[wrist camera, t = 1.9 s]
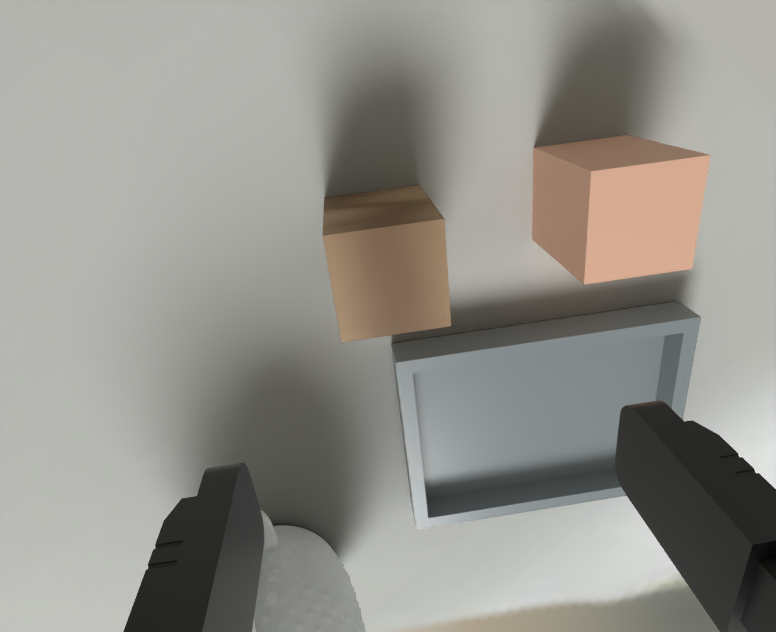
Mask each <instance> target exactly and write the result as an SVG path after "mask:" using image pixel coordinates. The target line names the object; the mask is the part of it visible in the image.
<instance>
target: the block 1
mask: <svg viewBox="0 0 776 632" xmlns="http://www.w3.org/2000/svg"><path fill="white" fill-rule="evenodd" d="M323 240H324V246H325V251H326V257H327V263H328V268H329V274H330V280H331V285H332V291H333V297H334V302H335V308H336V314H337V319H338V325H339V331H340V336H341V342H348V341H355V340H361V339H368V338H375V337H382V336H388V335H395V334H402V333H409V332H415V331H422V330H429V329H436V328H442V327H449V326H451V315H450V300H449V285H448V270H447V255H446V240H445V224H444V218H443V217H442V215H441V214H440V212H439V211H438V210H437V208H436V207H435V206H434V204H433V203H432V202H431V200H430V199H429V198H428V196H427V195H426V193H425V192H424V191H423V189H422V188H421V187H420V185H415V186H408V187H400V188H393V189H386V190H378V191H371V192H364V193H356V194H349V195H342V196H334V197H327V198H324V219H323Z"/></svg>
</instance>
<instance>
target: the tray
mask: <svg viewBox="0 0 776 632" xmlns="http://www.w3.org/2000/svg"><path fill="white" fill-rule="evenodd" d="M700 320H701V317H700V316H699V315H697V314H696V313H694V312H693V311H691V310H690V309H689V308H687V307H686V306H684V305H683V304H681V303H680V302H678V301H675V302H669V303H662V304H655V305H648V306H642V307H635V308H628V309H621V310H615V311H608V312H601V313H594V314H588V315H581V316H574V317H567V318H561V319H554V320H547V321H540V322H534V323H527V324H520V325H513V326H507V327H500V328H493V329H486V330H480V331H473V332H466V333H459V334H453V335H446V336H439V337H432V338H426V339H419V340H412V341H405V342H399V343H392V344H391V345H392V353H393V360H394V368H395V376H396V384H397V392H398V400H399V408H400V416H401V424H402V431H403V439H404V447H405V455H406V463H407V471H408V479H409V487H410V495H411V503H412V509H413V514H414V520H415V525H416V530H418V529H424V528H430V527H436V526H442V525H449V524H455V523H461V522H467V521H473V520H479V519H486V518H492V517H498V516H504V515H510V514H516V513H522V512H529V511H535V510H541V509H547V508H553V507H559V506H565V505H572V504H578V503H584V502H590V501H596V500H602V499H609V498H615V497H621V496H627V495H626V494H625V492H624V491H623V489H622V487H621V485H620V483H619V480H618V477H617V474H616V469H615V455H616V446H617V437H618V428H619V419H620V412H621V409H622V408H623V407H624V406H626V405H632V404H638V403H645V402H651V401H658V400H660V401H663V402H665V403H666V404H667V405H668V406H669V407H670V408H671V409H672V410H673V411H674V412H675V413H676V414H677V415H678V416H679V417H680V418H681V419H682V420H683V415H684V410H685V404H686V399H687V393H688V387H689V382H690V376H691V370H692V365H693V359H694V353H695V348H696V342H697V337H698V331H699V325H700Z"/></svg>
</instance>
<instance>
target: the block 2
mask: <svg viewBox="0 0 776 632" xmlns="http://www.w3.org/2000/svg"><path fill="white" fill-rule="evenodd" d="M709 161H710V155H708V154H704V153H700V152H696V151H692V150H687V149H683V148H679V147H675V146H671V145H667V144H662V143H658V142H654V141H650V140H646V139H642V138H637V137H633V136H629V135H623V136H616V137H609V138H601V139H594V140H586V141H579V142H572V143H564V144H557V145H549V146H542V147H534V152H533V231H532V240H534V241H535V242H536V243H537V244H538V245H539V246H540V247H542V248H543V249H544V250H545V251H546V252H547V253H548V254H550V255H551V256H552V257H553V258H554V259H555V260H556V261H558V262H559V263H560V264H561V265H562V266H563V267H564V268H566V269H567V270H568V271H569V272H570V273H571V274H573V275H574V276H575V277H576V278H577V279H578V280H579V281H581V282H582V283H583V284H584V285H585V284H592V283H599V282H605V281H612V280H619V279H626V278H633V277H640V276H646V275H653V274H660V273H667V272H674V271H681V270H688V269H692V266H693V260H694V254H695V248H696V241H697V235H698V229H699V223H700V217H701V210H702V204H703V198H704V192H705V186H706V179H707V173H708V167H709Z"/></svg>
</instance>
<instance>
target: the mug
mask: <svg viewBox="0 0 776 632" xmlns="http://www.w3.org/2000/svg"><path fill="white" fill-rule="evenodd" d="M260 511H261V514H262V518H263V524H264V549H263V556H262V564H261V571H260V578H259V585H258V592H257V600H256V607H255V614H254V621H253V628H252V632H365V629H364V622H363V620H362V616H361V609H360V607H359V603H358V601H357V599H356V593H355V592H354V588H353V586H352V584H351V582H350V577H349V575H348V573H347V571H346V570H345V568H344V565H343V563H342V562H341V561H340V559H339V558H338V556H337V555H336V553H335V552H334V551H333V549H332V548H331V547H330V546H329V545H328V543H327V542H326V541H325V540H323V539H322V538H321V537H320V536H318V535H317V534H315V533H313V532H311V531H309V530H307V529H304V528H300V527H296V526H289V525H276V526H273V525H272V522H271V520H270V519H269V517H268V516H267V515H266V514H265V512H263V511H262V510H260Z"/></svg>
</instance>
